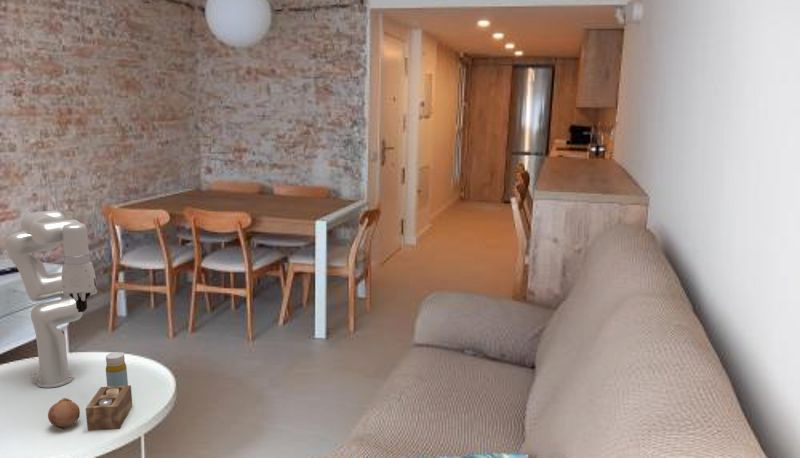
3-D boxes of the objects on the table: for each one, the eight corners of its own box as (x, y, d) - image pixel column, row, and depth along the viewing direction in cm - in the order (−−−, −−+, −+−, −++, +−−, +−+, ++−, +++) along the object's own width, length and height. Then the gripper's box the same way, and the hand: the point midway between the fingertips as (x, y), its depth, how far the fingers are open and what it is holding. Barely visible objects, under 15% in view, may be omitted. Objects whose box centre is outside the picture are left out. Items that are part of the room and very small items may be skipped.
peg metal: (99, 425, 214) (97, 404, 213) (102, 419, 218) (100, 398, 217) (111, 424, 215) (109, 403, 214) (115, 418, 219) (113, 398, 217)
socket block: (87, 430, 212) (85, 408, 211) (103, 408, 228) (100, 386, 226) (119, 428, 214) (117, 406, 212) (132, 406, 229) (130, 385, 228)
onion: (65, 429, 219) (66, 399, 222) (86, 426, 216) (86, 395, 218) (41, 432, 211) (41, 400, 213) (62, 429, 207) (62, 397, 210)
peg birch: (106, 413, 222) (104, 393, 221) (110, 408, 226) (108, 388, 225) (118, 413, 223) (116, 392, 221) (122, 407, 227) (120, 387, 225)
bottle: (121, 398, 235) (117, 359, 232) (103, 396, 237) (100, 358, 234) (132, 390, 242) (129, 352, 239) (115, 388, 243) (112, 350, 240)
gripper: (49, 262, 215) (55, 315, 219) (96, 261, 217) (101, 313, 221) (58, 257, 223) (63, 308, 226) (103, 256, 225) (108, 306, 228)
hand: (82, 310), depth 224 cm, fingers closed
